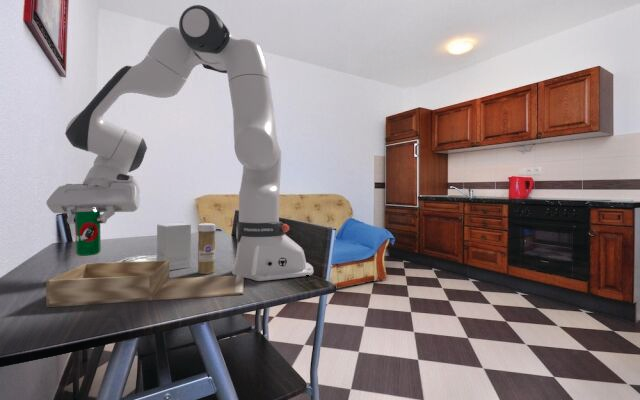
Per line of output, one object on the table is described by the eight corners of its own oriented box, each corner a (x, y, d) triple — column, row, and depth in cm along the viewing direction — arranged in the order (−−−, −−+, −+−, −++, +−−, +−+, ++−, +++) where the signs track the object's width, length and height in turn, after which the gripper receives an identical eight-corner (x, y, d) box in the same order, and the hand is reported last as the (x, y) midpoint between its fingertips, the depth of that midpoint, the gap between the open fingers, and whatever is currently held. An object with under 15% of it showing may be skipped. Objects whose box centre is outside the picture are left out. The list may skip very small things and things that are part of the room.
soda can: (105, 252, 77) (104, 207, 77) (88, 256, 72) (86, 207, 72) (89, 252, 78) (88, 207, 78) (70, 256, 73) (69, 207, 73)
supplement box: (191, 267, 87) (191, 224, 86) (164, 271, 81) (164, 226, 81) (182, 262, 92) (182, 222, 92) (156, 266, 87) (156, 223, 86)
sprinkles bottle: (202, 275, 78) (202, 225, 78) (194, 272, 81) (195, 223, 81) (218, 272, 81) (218, 224, 81) (210, 269, 85) (210, 222, 84)
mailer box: (243, 276, 78) (243, 257, 78) (243, 294, 64) (243, 271, 64) (85, 284, 69) (85, 263, 69) (46, 307, 56) (46, 280, 55)
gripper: (54, 175, 79) (29, 215, 70) (140, 176, 84) (127, 213, 74) (65, 192, 83) (43, 231, 74) (145, 192, 88) (134, 228, 79)
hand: (86, 222), depth 74 cm, fingers closed on soda can, 5 cm apart
